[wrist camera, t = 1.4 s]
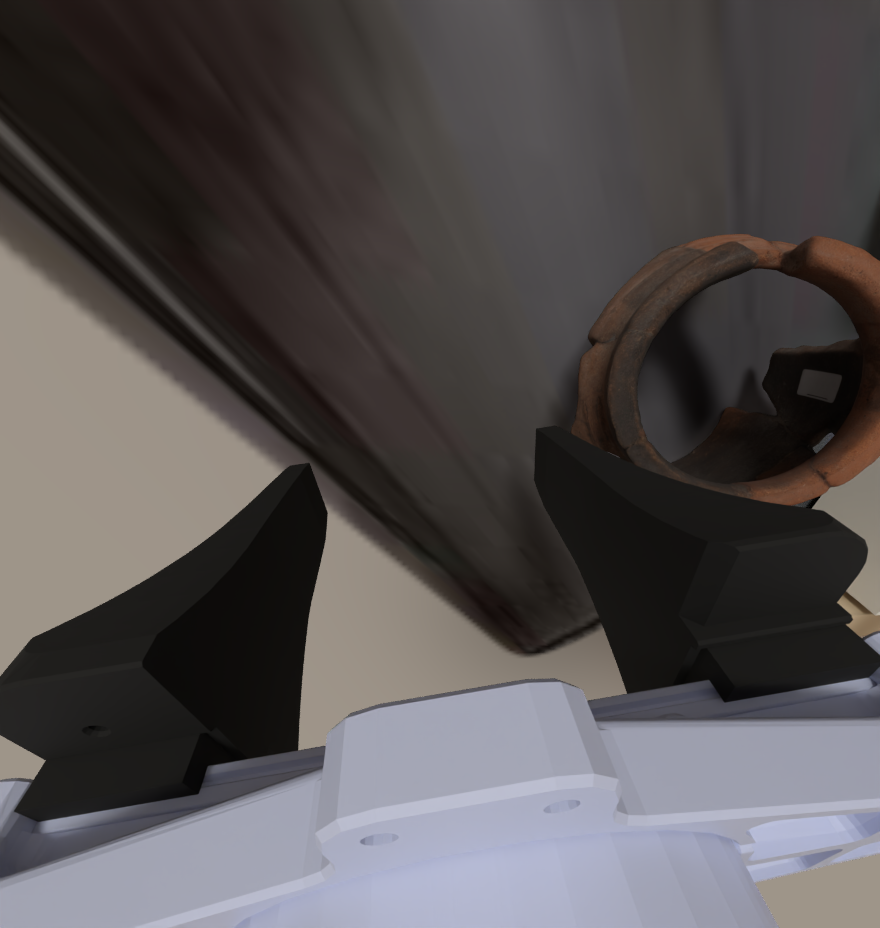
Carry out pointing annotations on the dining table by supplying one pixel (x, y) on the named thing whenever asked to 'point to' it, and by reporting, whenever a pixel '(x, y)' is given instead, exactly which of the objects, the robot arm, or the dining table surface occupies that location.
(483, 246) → the dining table surface
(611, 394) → the pottery mug
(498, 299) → the dining table surface
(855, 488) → the pusher plate
